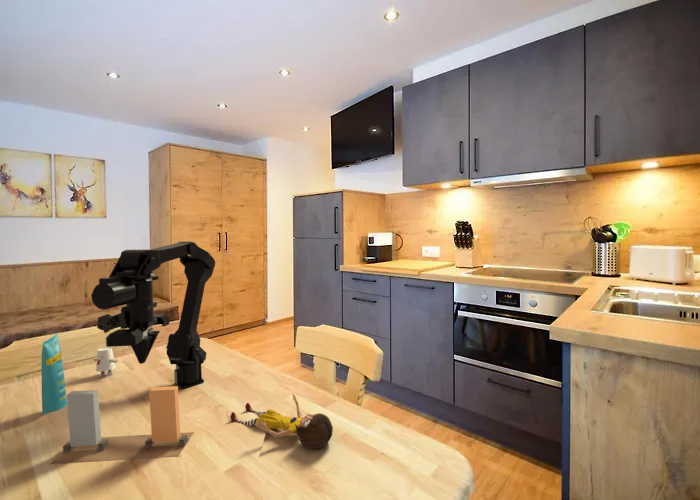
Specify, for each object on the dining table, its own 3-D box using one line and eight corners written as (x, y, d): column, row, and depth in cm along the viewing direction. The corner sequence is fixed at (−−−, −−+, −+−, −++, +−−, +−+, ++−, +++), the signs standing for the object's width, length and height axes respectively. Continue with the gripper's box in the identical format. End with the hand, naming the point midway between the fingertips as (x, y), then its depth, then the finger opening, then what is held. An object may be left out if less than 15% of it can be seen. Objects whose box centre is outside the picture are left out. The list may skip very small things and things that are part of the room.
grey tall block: (75, 442, 71) (72, 391, 70) (101, 440, 71) (97, 390, 70) (70, 446, 69) (66, 394, 69) (96, 445, 70) (92, 393, 69)
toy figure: (82, 377, 108) (80, 350, 107) (99, 370, 113) (97, 344, 113) (112, 381, 105) (110, 353, 104) (128, 373, 110) (127, 347, 110)
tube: (62, 415, 85) (57, 339, 84) (37, 420, 83) (31, 342, 82) (71, 402, 92) (66, 331, 91) (48, 406, 90) (42, 334, 89)
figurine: (257, 389, 88) (342, 397, 77) (261, 418, 88) (346, 430, 77) (216, 414, 77) (308, 428, 65) (220, 447, 77) (313, 467, 65)
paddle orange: (155, 437, 72) (152, 387, 71) (180, 436, 72) (177, 386, 71) (152, 441, 70) (149, 390, 70) (177, 440, 71) (174, 389, 70)
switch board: (80, 442, 74) (79, 432, 74) (194, 436, 76) (193, 426, 75) (50, 468, 66) (49, 456, 66) (178, 461, 68) (177, 449, 67)
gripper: (125, 294, 93) (128, 351, 93) (78, 310, 74) (81, 380, 75) (169, 293, 94) (171, 349, 94) (132, 308, 75) (135, 378, 76)
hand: (142, 363), depth 85 cm, fingers closed
